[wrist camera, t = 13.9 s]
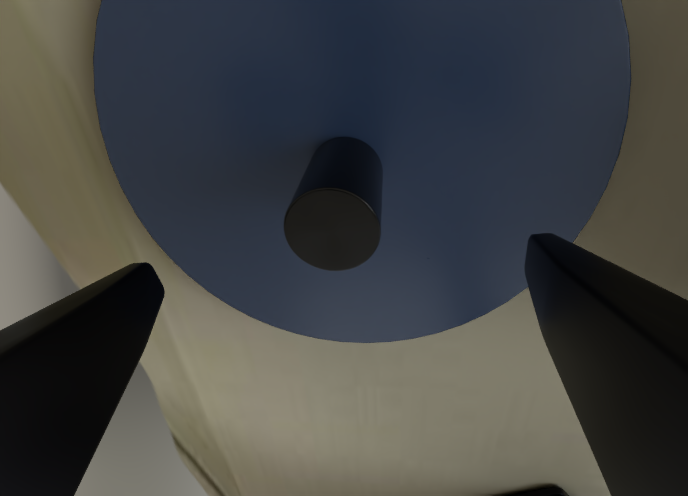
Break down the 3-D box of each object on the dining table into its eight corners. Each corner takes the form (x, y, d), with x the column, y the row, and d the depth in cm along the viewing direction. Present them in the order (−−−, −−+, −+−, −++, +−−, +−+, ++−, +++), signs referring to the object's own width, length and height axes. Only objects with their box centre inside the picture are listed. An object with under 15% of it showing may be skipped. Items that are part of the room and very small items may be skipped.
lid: (400, 371, 21) (403, 468, 16) (79, 214, 17) (-24, 289, 13) (745, 81, 11) (953, 134, 7) (203, -426, 7) (-37, -965, 3)
